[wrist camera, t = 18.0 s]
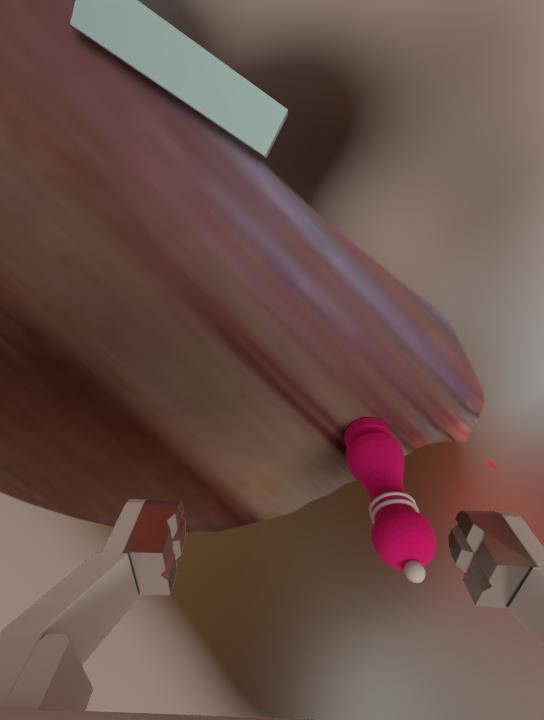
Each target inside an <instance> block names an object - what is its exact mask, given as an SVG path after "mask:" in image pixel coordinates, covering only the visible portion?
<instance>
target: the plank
mask: <svg viewBox="0 0 544 720" xmlns="http://www.w3.org/2000/svg"><path fill="white" fill-rule="evenodd" d="M70 24H71V25H72V26H74V27H75V28H76V29H77V30H79V31H80V32H81V33H82V34H84V35H85V36H87V37H88V38H90V39H91V40H93V41H94V42H96V43H97V44H99V45H100V46H101V47H103V48H104V49H106V50H107V51H109V52H110V53H112V54H113V55H115V56H116V57H118V58H119V59H121V60H122V61H124V62H125V63H127V64H128V65H129V66H131V67H132V68H134V69H135V70H137V71H138V72H140V73H141V74H143V75H144V76H146V77H147V78H149V79H150V80H152V81H153V82H155V83H156V84H157V85H159V86H160V87H162V88H163V89H165V90H166V91H168V92H169V93H171V94H172V95H174V96H175V97H177V98H178V99H180V100H181V101H183V102H184V103H185V104H187V105H188V106H190V107H191V108H193V109H194V110H196V111H197V112H199V113H200V114H202V115H203V116H205V117H206V118H208V119H209V120H211V121H212V122H213V123H215V124H216V125H218V126H219V127H221V128H222V129H224V130H225V131H227V132H228V133H230V134H231V135H232V136H234V137H235V138H237V139H238V140H240V141H241V142H243V143H244V144H246V145H247V146H249V147H250V148H251V149H253V150H254V151H256V152H257V153H259V154H260V155H262V156H263V157H265V158H267V156H268V154H269V151H270V150H271V148H272V146H273V144H274V142H275V140H276V138H277V136H278V134H279V132H280V130H281V128H282V126H283V124H284V122H285V119H286V118H287V116H288V109H286V108H285V107H283V106H282V105H280V104H279V103H278V102H277V101H275V100H274V99H272V98H271V97H270V96H268V95H267V94H265V93H264V92H263V91H261V90H260V89H259V88H257V87H256V86H254V85H253V84H252V83H250V82H249V81H248V80H246V79H245V78H243V77H242V76H241V75H239V74H238V73H237V72H235V71H234V70H232V69H231V68H230V67H228V66H227V65H226V64H224V63H223V62H221V61H220V60H219V59H217V58H216V57H215V56H213V55H212V54H210V53H209V52H208V51H206V50H204V48H202V47H201V46H199V45H198V44H197V43H195V42H194V41H193V40H191V39H189V38H188V37H187V36H185V35H184V34H183V33H181V32H180V31H179V30H177V29H176V28H174V27H173V26H172V25H170V24H169V23H168V22H166V21H165V20H164V19H162V18H161V17H159V16H158V15H157V14H155V13H154V12H153V11H151V10H150V9H148V8H147V7H146V6H144V5H143V4H142V3H140V2H139V1H137V0H76V1H75V5H74V10H73V14H72V18H71V23H70Z"/></svg>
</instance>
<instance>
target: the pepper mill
mask: <svg viewBox="0 0 544 720" xmlns="http://www.w3.org/2000/svg"><path fill="white" fill-rule="evenodd" d="M344 439H345V443H346V447H347V450H346V462H347V465H348V467H349V469H350V471H351V473H352V474H353V476H354V477H355V478H356V479H357V480H358V481H359V483H361V484H362V485H363V486H364V487H365V488H366V490H367V492H368V493H369V496H370V499H371V504H370V507H369V513H370V515H371V520H372V522H373V527H372V533H371V535H372V542H373V545H374V548H375V550H376V552H377V554H378V555H379V557H380V558H381V559H382V560H383V561H384V562H385V563H386V564H387V565H389V566H390V567H392V568H394V569H397V570H401V571H404V572H405V575H406V576H407V578H408V579H409V580H410V581H412V582H414V583H420V582H422V581H423V580H424V578H425V570H424V568H423V567H424V566H425V565H427V564H428V563H429V562H430V561H431V559H432V558H433V556H434V554H435V550H436V539H435V535H434V532H433V529H432V527H431V525H430V524H429V522H428V521H427V520H426V519H425V518H424V517H423V516H422V515H420V514H419V510H418V508H417V506H416V503H415V501H414V499H413V498H412V497H411V496H410V495H408V494H406V492H405V489H404V487H403V471H404V455H403V452H402V449H401V446H400V444H399V443H398V441H397V440H396V439H395V438H394V437H392V436H391V433H390V431H389V429H388V427H387V425H386V424H385V423H384V422H383V421H381V420H379V419H376V418H368V417H366V418H361V419H358V420H356V421H354V422H353V423H351V424H350V425H349V426H348V428H347V429H346V431H345V434H344Z"/></svg>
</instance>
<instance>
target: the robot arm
mask: <svg viewBox="0 0 544 720" xmlns="http://www.w3.org/2000/svg"><path fill="white" fill-rule="evenodd" d="M182 513H183V504H182V502H178V501H162V500H145V499H129V500H128V502H127V503H126V504H125V506H124V508H123V510H122V512H121V514H120V516H119V518H118V520H117V522H116V524H115V526H114V528H113V530H112V532H111V534H110V536H109V538H108V540H107V543H106V544H105V546H104V549H103V551H102V552H96V553H95V554H94V555H93V556H91V557H90V558H89V559H87V560H86V561H85V562H84V563H83V564H81V565H80V566H79V567H78V568H77V569H75V570H74V571H73V572H72V573H70V574H69V575H68V576H67V577H66V578H64V579H63V580H62V581H61V582H60V583H58V584H57V585H56V586H55V587H53V588H52V589H51V590H50V591H49V592H47V593H46V594H45V595H44V596H43V597H42V598H40V599H39V600H38V601H36V603H34V604H33V605H32V606H30V607H29V608H28V609H27V610H26V611H24V612H23V613H22V614H21V615H20V616H18V617H17V618H16V619H15V620H13V621H12V622H11V623H10V624H9V625H7V626H6V627H5V628H4V629H3V630H2V631H1V633H0V720H313V719H286V718H285V719H284V718H259V717H231V716H230V717H229V716H204V715H176V714H149V713H148V714H147V713H119V712H93V711H86V708H87V705H88V702H89V699H90V697H91V694H92V691H93V689H92V686H91V683H90V681H89V679H88V677H87V675H86V673H85V671H84V669H83V667H82V664H83V663H84V662H85V661H86V660H87V658H88V657H89V656H90V655H91V654H92V653H93V651H94V650H95V649H96V648H97V646H98V645H99V644H100V643H101V642H102V641H103V639H104V638H105V637H106V636H107V635H108V634H109V632H110V631H111V630H112V629H113V627H114V626H115V625H116V624H117V623H118V622H119V621H120V619H121V618H122V617H123V616H124V614H125V613H126V612H127V611H128V610H129V609H130V607H131V606H132V605H133V604H134V602H135V601H136V600H137V599H138V598H139V595H170V594H171V591H172V587H173V583H174V580H175V576H176V572H177V566H176V559H177V558H178V557H179V556H180V555H181V554H182V549H183V546H184V539H185V528H186V525H185V520H184V519H183V518H182V517H181V516H182ZM456 521H457V523H458V525H457V526H455V527H454V528H452V529H451V531H450V534H449V548H450V552H451V555H452V557H453V560H454V562H455V564H456V565H457V566H458V567H459V568H460V569H462V570H463V571H464V572H465V573H464V578H463V581H464V583H465V585H466V588H467V590H468V592H469V594H470V596H471V598H472V600H473V602H474V604H475V606H485V607H500V608H508V609H507V610H508V611H509V612H510V613H511V614H512V616H514V618H515V619H516V620H517V621H518V622H519V623H520V624H521V625H522V626H523V627H524V628H525V629H526V630H527V631H528V632H529V633H530V634H531V635H532V636H533V637H534V638H535V639H536V640H537V641H538V642H539V643H540V644H541V645H542V646H543V647H544V548H543V546H542V545H541V544H540V542H539V541H538V539H537V538H536V537H535V535H534V534H533V533H532V531H531V530H530V529H529V528H528V526H527V525H526V523H525V522H524V521H523V519H522V518H521V517H520V516H519V515H518V514H516V513H515V512H495V511H460V512H459V513H458V514H457V517H456Z"/></svg>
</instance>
